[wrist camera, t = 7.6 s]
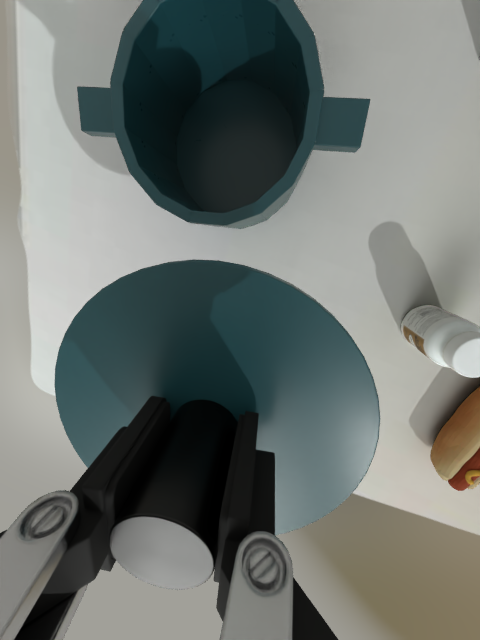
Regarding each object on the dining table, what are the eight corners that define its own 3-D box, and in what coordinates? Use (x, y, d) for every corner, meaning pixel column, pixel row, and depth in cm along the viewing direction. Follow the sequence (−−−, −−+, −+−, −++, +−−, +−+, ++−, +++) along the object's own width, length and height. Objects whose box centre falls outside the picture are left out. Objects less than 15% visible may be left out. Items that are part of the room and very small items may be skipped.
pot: (141, 68, 23) (55, -39, 14) (349, 76, 21) (403, -41, 12) (146, 219, 27) (82, 212, 18) (319, 236, 25) (344, 237, 16)
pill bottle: (390, 332, 27) (432, 367, 20) (418, 296, 26) (475, 321, 18) (426, 350, 27) (481, 392, 20) (456, 316, 26) (526, 348, 19)
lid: (53, 240, 10) (-192, 246, 5) (415, 279, 9) (625, 347, 4) (88, 489, 14) (-18, 634, 9) (332, 538, 13) (369, 739, 8)
